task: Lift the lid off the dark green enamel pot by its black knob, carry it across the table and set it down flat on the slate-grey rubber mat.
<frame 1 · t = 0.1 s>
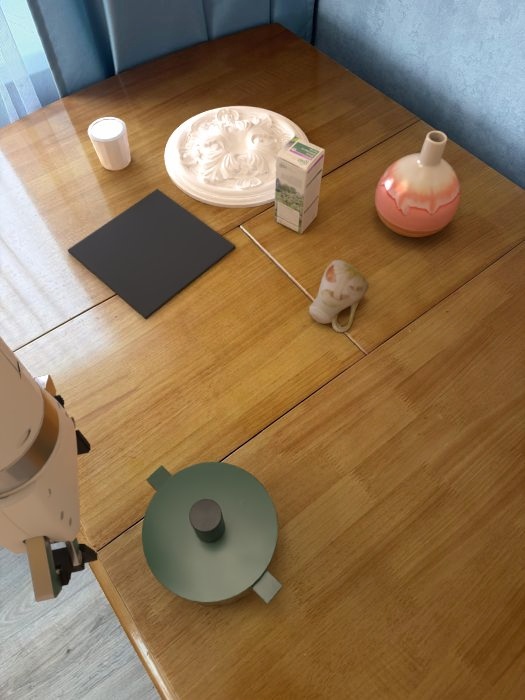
hand: (76, 503, 47), 22 cm above the table, tool pointing down, fingers open, 9 cm apart
vase: (408, 223, 93), on the table
pot: (216, 545, 65), on the table
lid: (210, 528, 57), point 9 cm above the table, touching pot
white lidded cup: (116, 161, 101), on the table
mat: (152, 250, 90), on the table
syrup box: (295, 219, 93), on the table
mug: (334, 307, 84), on the table
ceiling medallion: (238, 156, 102), on the table
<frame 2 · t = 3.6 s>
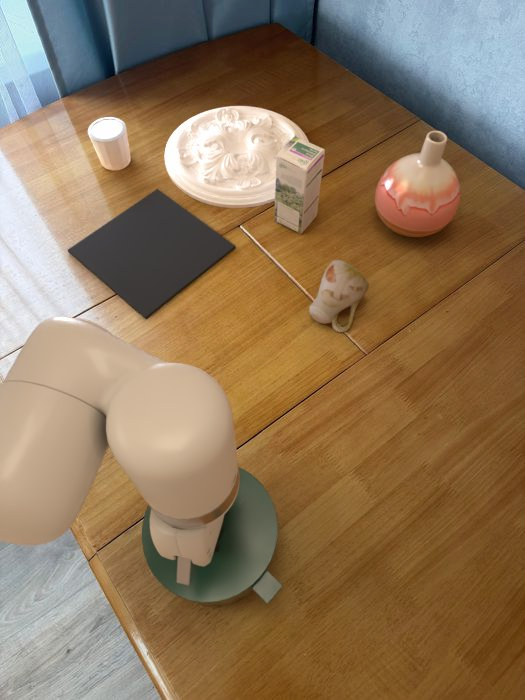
hand: (209, 526, 56), 11 cm above the table, tool pointing down, fingers closed on lid, 3 cm apart
lid: (210, 528, 57), point 10 cm above the table, touching gripper, pot
everything else where it was.
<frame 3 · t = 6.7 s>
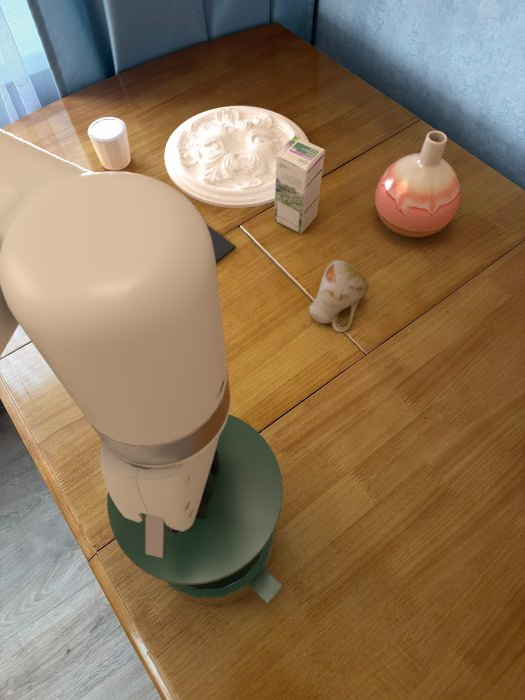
hand: (194, 487, 44), 25 cm above the table, tool pointing down, fingers closed on lid, 3 cm apart
lid: (196, 491, 45), point 24 cm above the table, touching gripper
everything else where it was.
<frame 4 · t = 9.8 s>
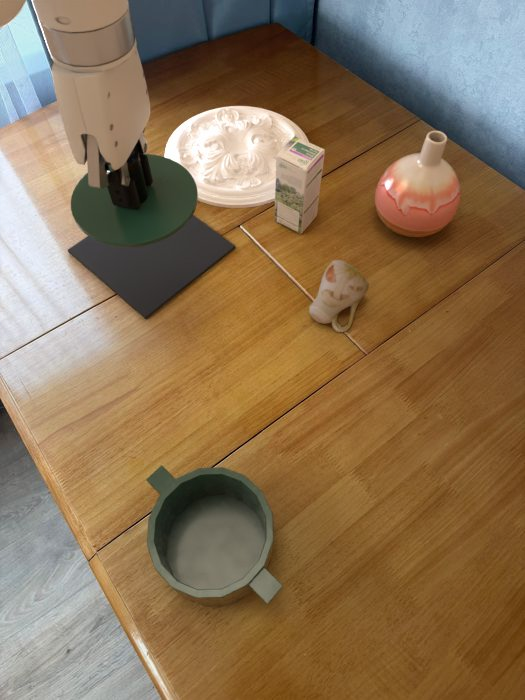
hand: (133, 193, 61), 25 cm above the table, tool pointing down, fingers closed on lid, 3 cm apart
lid: (135, 199, 62), point 24 cm above the table, touching gripper
everything else where it was.
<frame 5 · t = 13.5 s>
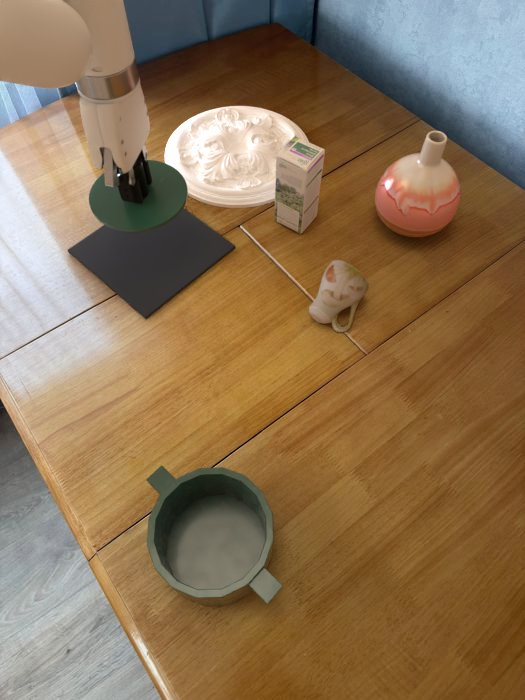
hand: (137, 190, 78), 13 cm above the table, tool pointing down, fingers closed on lid, 3 cm apart
lid: (139, 195, 79), point 12 cm above the table, touching gripper
everything else where it was.
when the fingers open (2 cm above the table, at t = 16.1 s): lid stays where it is, resting on mat.
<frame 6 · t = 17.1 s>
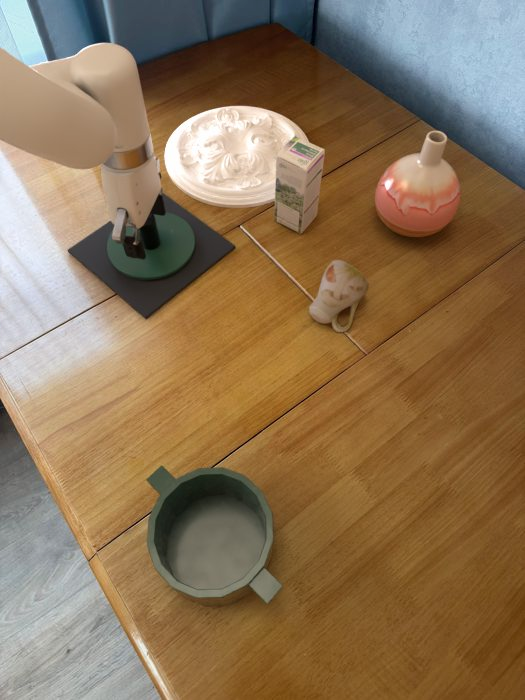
hand: (146, 234, 86), 4 cm above the table, tool pointing down, fingers open, 9 cm apart
lid: (151, 245, 88), point 1 cm above the table, touching mat
everything else where it was.
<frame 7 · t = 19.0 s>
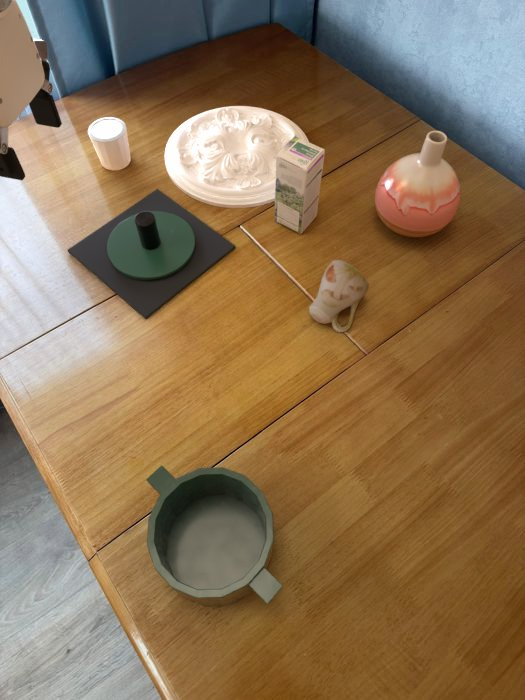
hand: (31, 149, 63), 27 cm above the table, tool pointing down, fingers open, 9 cm apart
nothing on the table moved.
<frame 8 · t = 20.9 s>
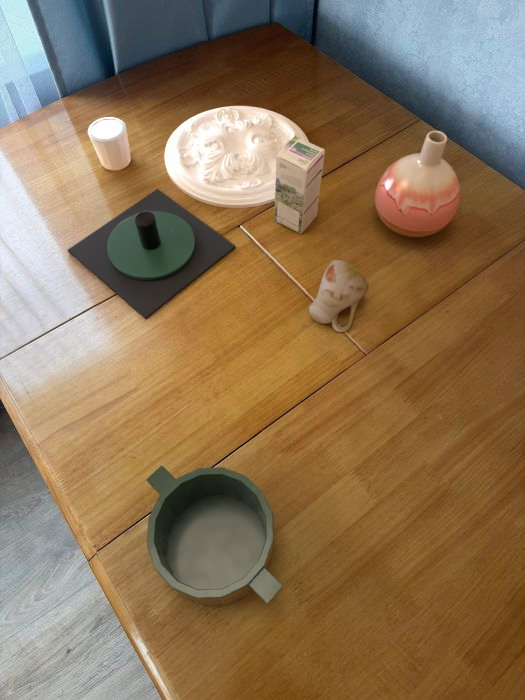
nothing on the table moved.
at the end: lid inside the target area on the mat (0.1 cm from its centre), point 1.2 cm above the mat's base; lid tilted 0°; the gripper is holding nothing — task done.
